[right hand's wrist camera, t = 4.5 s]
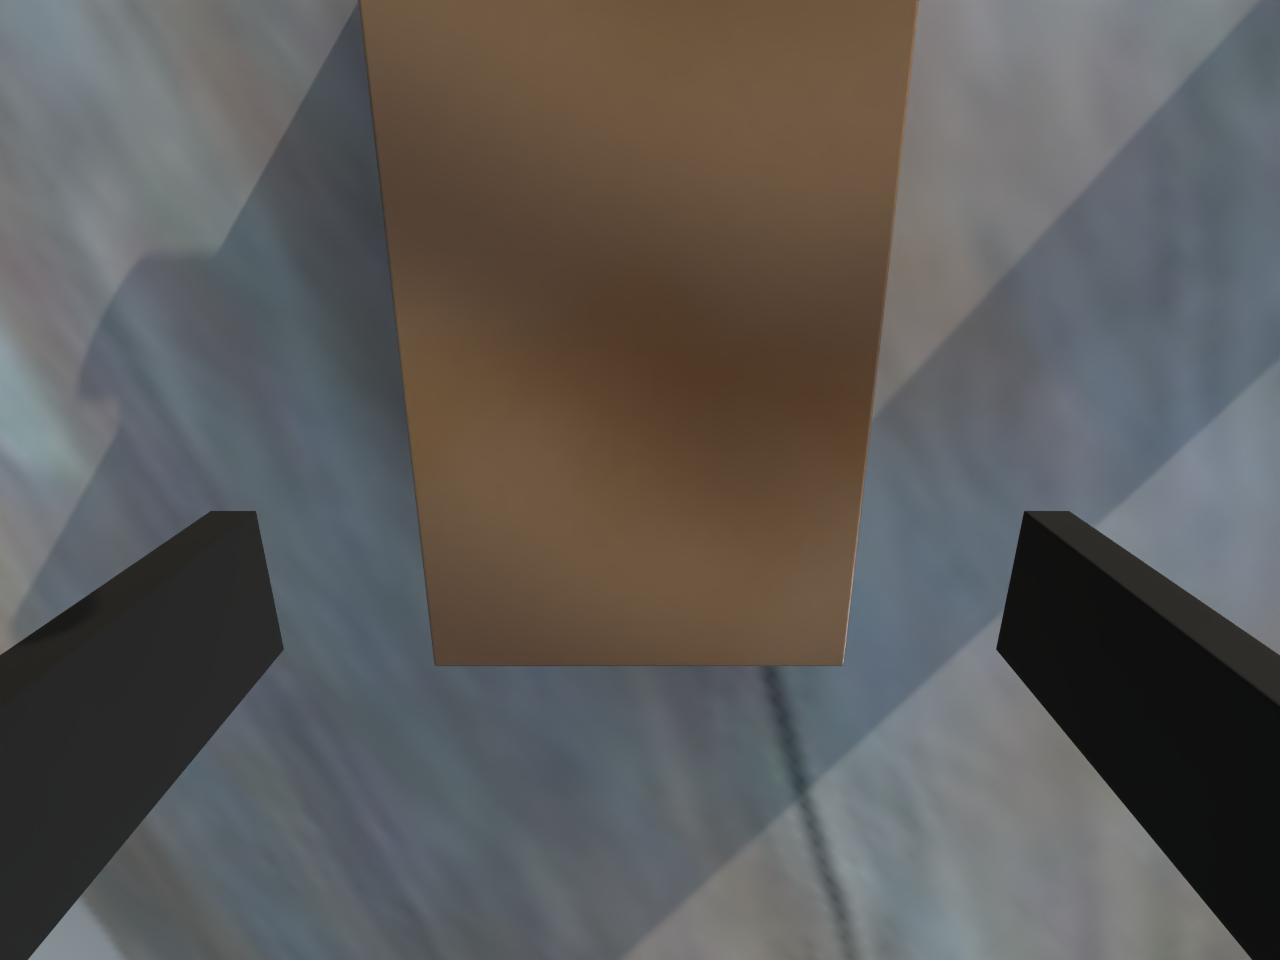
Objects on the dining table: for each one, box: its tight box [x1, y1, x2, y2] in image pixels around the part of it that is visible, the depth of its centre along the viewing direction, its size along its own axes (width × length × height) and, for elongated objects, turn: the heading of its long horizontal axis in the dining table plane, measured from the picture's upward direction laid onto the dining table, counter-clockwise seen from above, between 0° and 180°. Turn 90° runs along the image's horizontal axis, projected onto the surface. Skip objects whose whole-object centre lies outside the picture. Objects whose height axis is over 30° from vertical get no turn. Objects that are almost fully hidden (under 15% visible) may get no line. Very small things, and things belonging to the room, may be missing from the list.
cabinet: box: [359, 0, 919, 666], centre depth 18 cm, size 19×10×9 cm, turn 0°
